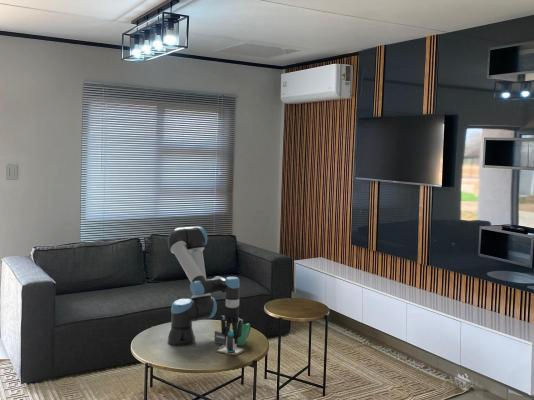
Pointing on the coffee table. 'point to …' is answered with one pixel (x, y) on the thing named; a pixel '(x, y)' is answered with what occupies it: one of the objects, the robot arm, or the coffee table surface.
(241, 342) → the mug
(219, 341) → the gray bookend
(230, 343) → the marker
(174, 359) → the coffee table surface
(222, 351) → the clipboard
